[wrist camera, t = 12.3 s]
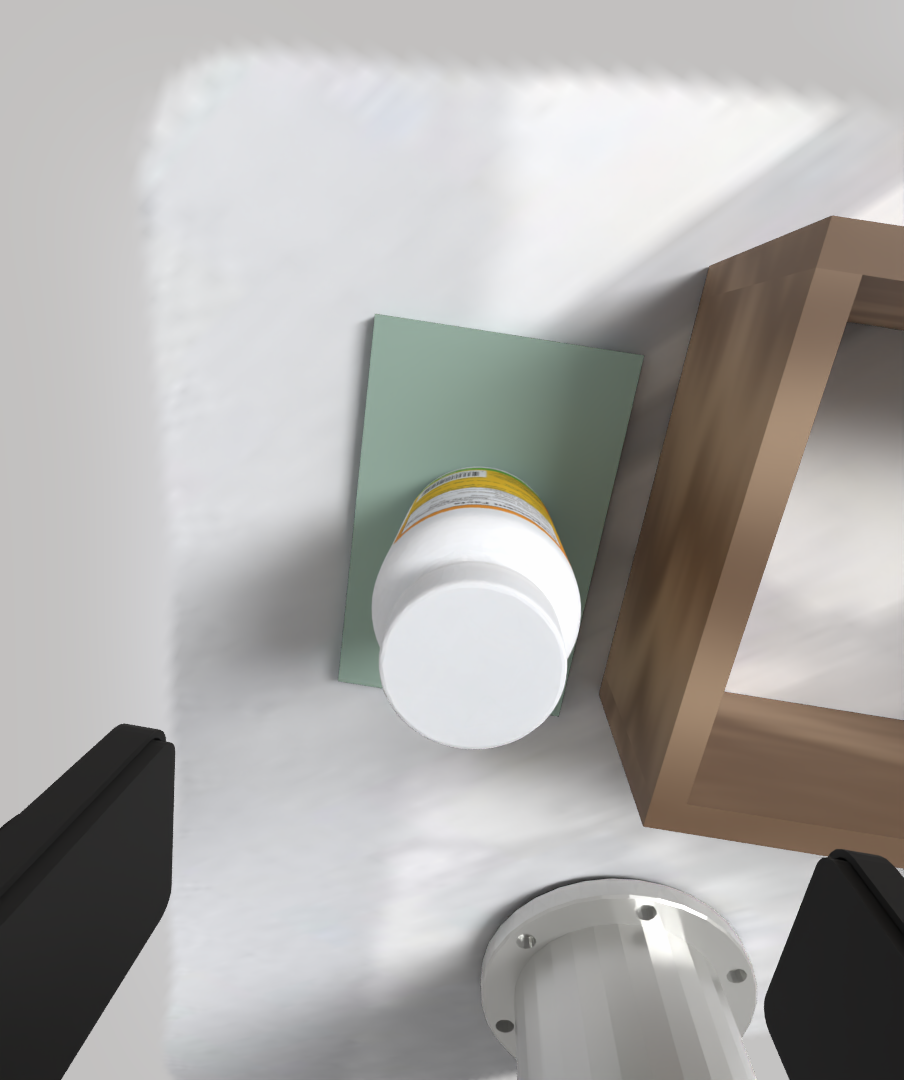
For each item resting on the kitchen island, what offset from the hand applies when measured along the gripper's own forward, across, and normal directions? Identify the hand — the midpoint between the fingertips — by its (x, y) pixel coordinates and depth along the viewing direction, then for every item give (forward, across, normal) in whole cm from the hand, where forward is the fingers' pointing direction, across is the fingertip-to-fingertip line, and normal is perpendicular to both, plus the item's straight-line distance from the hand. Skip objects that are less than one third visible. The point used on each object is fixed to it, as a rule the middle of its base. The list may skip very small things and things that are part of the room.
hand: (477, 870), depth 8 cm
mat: (+14, +1, -1) cm, 14 cm away
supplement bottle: (+14, +1, -1) cm, 14 cm away
